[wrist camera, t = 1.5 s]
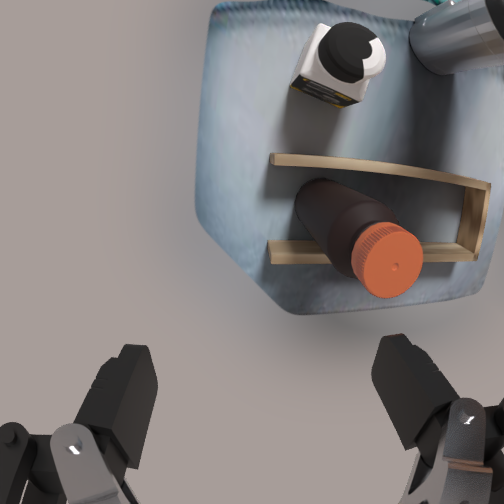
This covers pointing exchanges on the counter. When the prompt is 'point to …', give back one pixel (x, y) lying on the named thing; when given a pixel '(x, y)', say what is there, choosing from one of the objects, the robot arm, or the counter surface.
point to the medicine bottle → (339, 63)
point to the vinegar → (360, 237)
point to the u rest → (474, 190)
